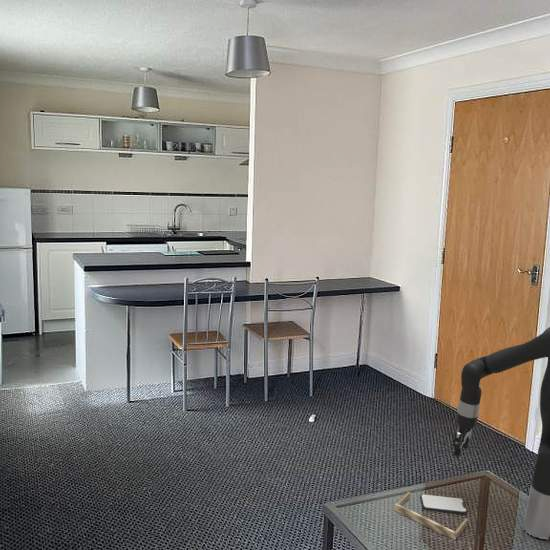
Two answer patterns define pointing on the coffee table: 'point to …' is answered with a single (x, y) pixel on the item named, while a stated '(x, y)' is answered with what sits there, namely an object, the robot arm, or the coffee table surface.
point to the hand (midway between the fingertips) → (460, 451)
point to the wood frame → (426, 521)
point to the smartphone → (443, 504)
